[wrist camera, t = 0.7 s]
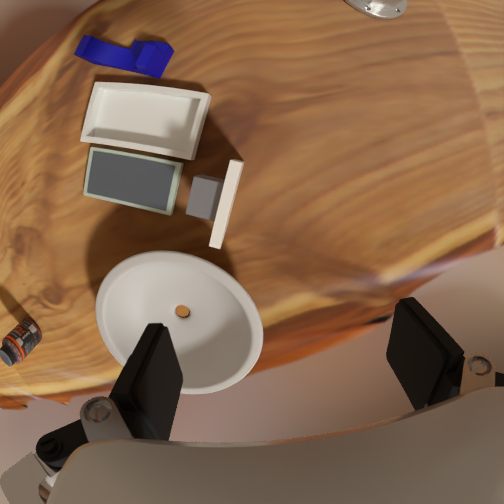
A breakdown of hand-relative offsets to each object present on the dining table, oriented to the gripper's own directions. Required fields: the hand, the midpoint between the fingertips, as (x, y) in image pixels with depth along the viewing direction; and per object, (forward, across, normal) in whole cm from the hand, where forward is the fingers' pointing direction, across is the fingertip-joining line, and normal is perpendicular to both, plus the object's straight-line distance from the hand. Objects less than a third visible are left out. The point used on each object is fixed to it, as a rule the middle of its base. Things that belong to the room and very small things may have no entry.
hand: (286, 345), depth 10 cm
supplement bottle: (+28, +50, +19) cm, 60 cm away
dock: (+28, +14, -14) cm, 34 cm away
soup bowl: (+28, +13, +14) cm, 34 cm away
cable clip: (+28, +16, -25) cm, 41 cm away
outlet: (+28, +5, -3) cm, 28 cm away
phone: (+28, +17, -6) cm, 33 cm away
